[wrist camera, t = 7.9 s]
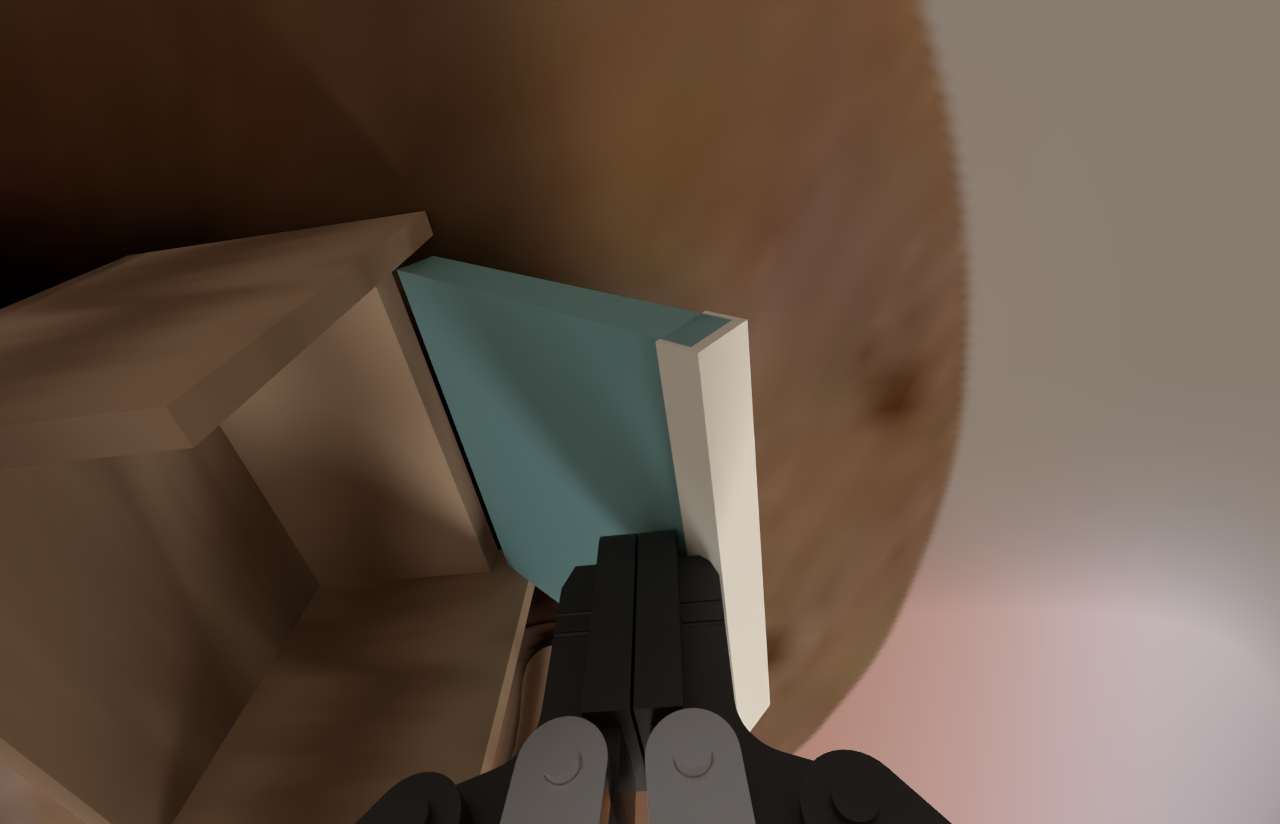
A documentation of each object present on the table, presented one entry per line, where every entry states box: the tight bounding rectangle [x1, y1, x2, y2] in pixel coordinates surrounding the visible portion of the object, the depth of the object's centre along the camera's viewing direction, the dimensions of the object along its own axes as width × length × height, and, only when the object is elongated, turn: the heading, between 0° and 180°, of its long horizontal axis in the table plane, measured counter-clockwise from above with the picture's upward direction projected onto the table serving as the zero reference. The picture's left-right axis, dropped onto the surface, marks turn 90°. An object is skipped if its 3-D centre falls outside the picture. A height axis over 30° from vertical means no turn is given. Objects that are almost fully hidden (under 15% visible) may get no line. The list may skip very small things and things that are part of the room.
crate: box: [0, 211, 535, 824], centre depth 14 cm, size 8×12×9 cm
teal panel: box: [397, 256, 770, 732], centre depth 14 cm, size 1×10×9 cm
